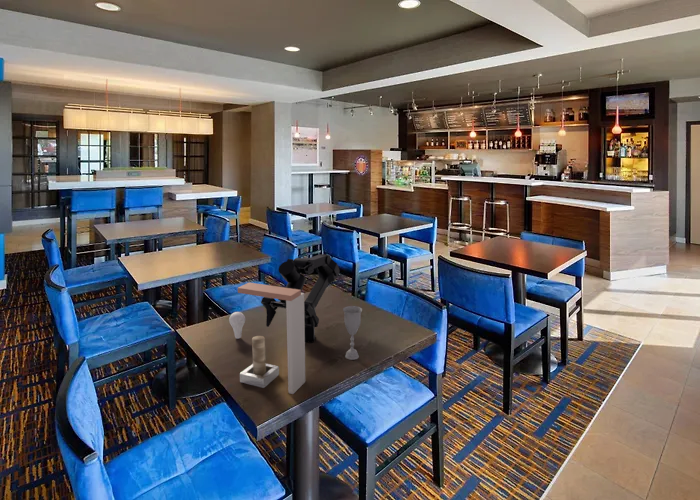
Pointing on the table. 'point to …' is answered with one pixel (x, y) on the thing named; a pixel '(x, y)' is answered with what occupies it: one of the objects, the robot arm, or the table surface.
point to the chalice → (352, 327)
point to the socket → (258, 380)
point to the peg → (259, 355)
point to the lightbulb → (237, 323)
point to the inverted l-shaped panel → (288, 327)
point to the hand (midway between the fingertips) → (278, 328)
